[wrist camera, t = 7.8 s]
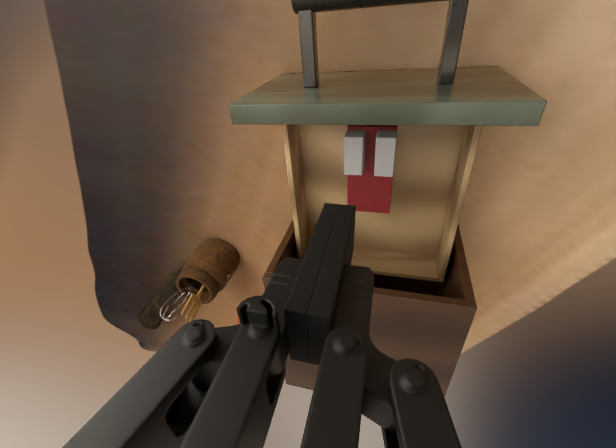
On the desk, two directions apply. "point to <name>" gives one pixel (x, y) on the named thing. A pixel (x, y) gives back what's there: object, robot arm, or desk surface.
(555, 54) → the desk surface
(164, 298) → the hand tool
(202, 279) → the utensil holder
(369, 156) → the red base white blocks
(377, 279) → the cabinet
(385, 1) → the drawer
